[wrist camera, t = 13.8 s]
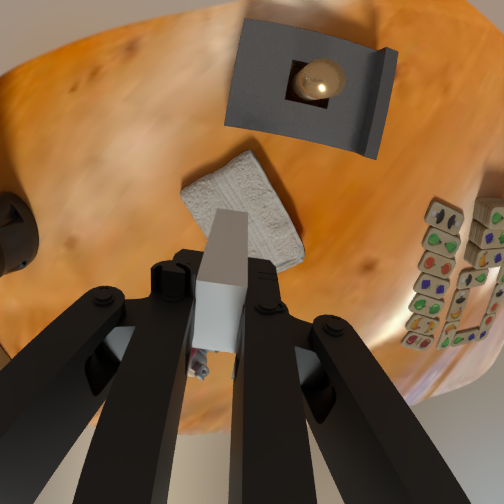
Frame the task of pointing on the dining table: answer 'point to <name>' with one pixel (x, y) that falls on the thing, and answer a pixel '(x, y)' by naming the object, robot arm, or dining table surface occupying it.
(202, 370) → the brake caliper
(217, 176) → the washcloth
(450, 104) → the dining table surface
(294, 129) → the jig
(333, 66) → the tan cylinder
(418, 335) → the pile of dominoes
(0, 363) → the cheese
